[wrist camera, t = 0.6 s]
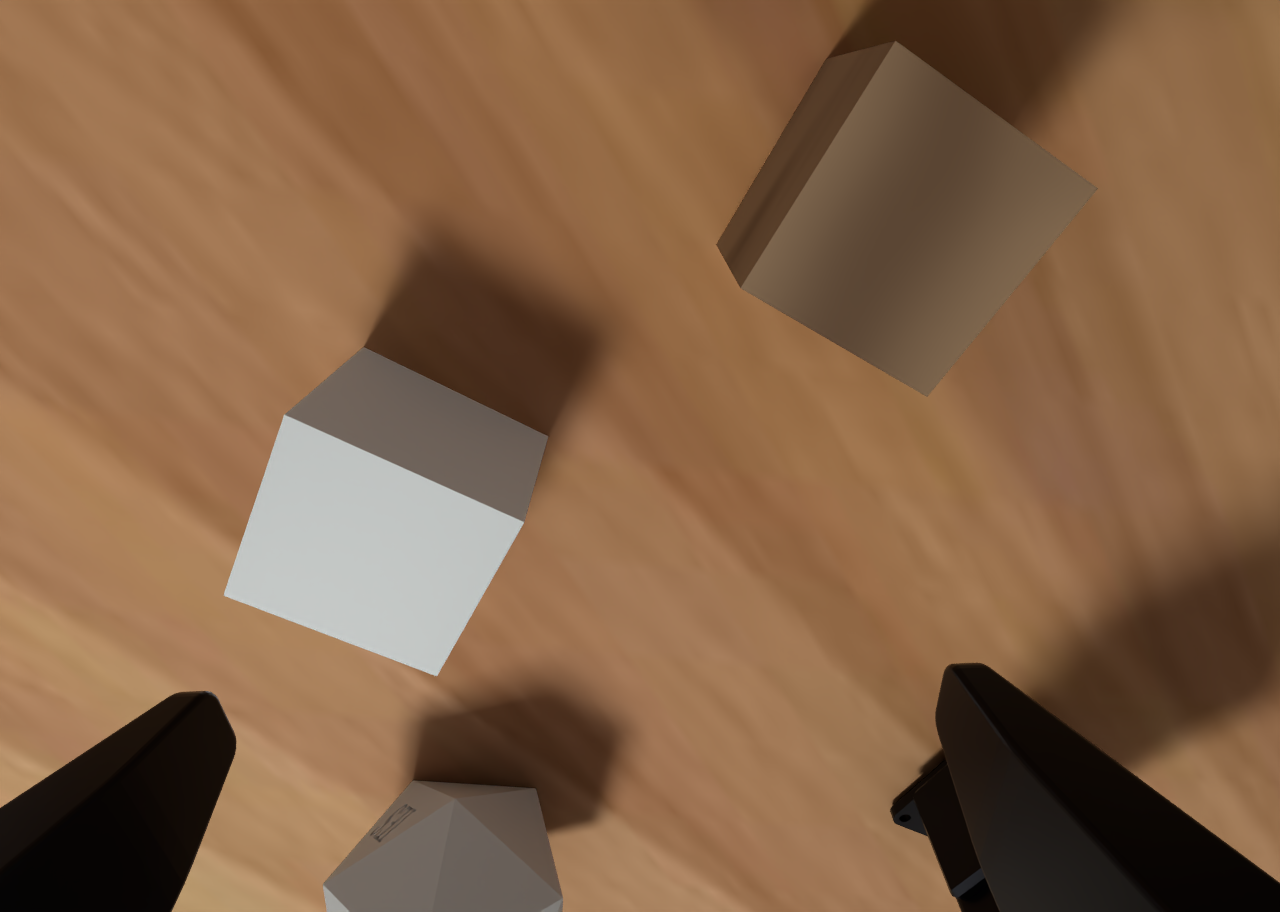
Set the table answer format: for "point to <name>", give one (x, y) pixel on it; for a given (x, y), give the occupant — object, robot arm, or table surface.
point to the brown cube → (897, 214)
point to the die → (451, 855)
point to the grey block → (386, 511)
